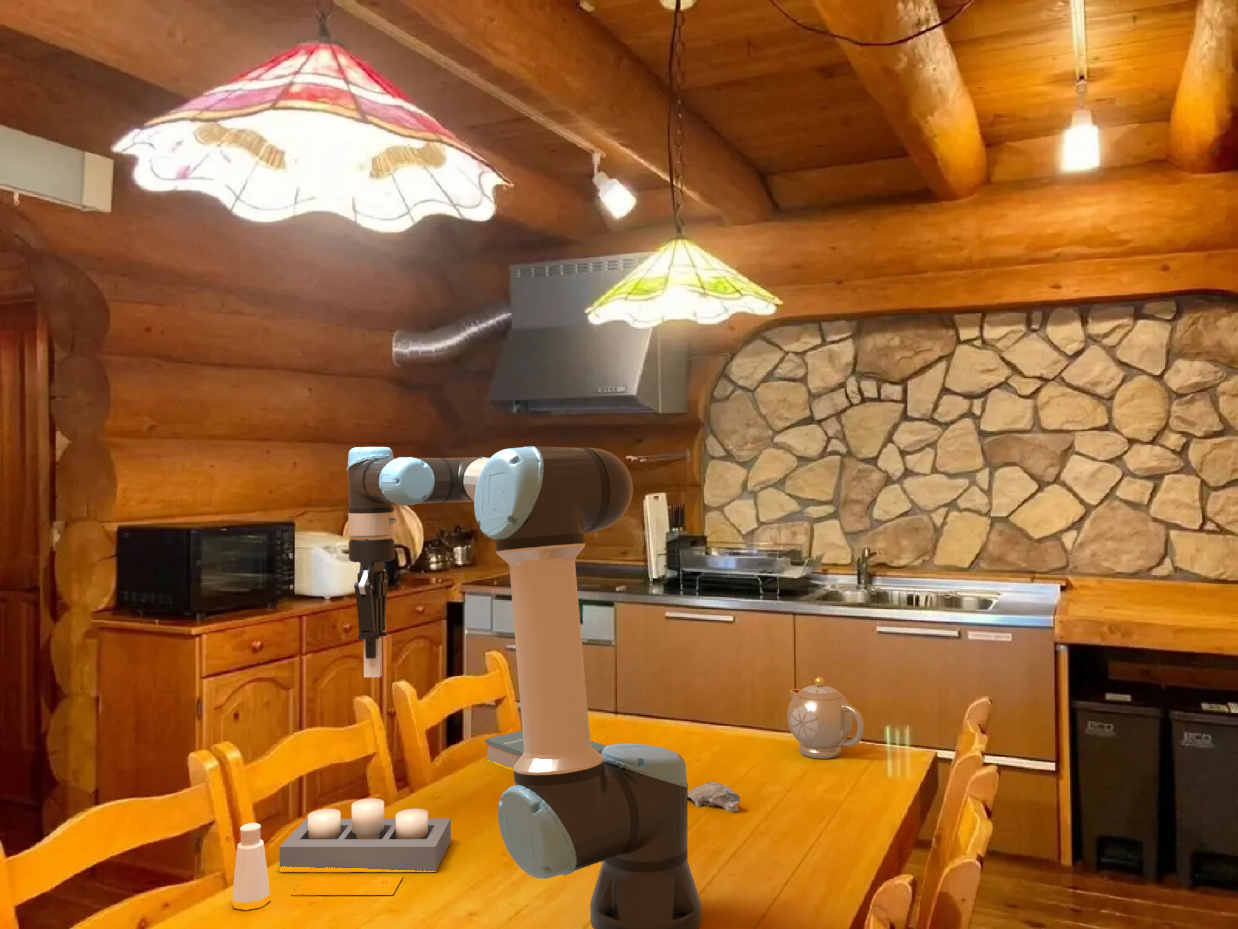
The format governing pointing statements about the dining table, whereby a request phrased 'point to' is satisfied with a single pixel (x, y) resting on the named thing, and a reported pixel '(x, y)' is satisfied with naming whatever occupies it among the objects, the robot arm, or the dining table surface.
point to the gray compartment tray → (368, 848)
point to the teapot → (822, 720)
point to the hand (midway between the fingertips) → (373, 676)
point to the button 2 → (412, 824)
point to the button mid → (368, 818)
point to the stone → (715, 796)
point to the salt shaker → (250, 866)
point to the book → (514, 748)
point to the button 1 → (324, 824)
